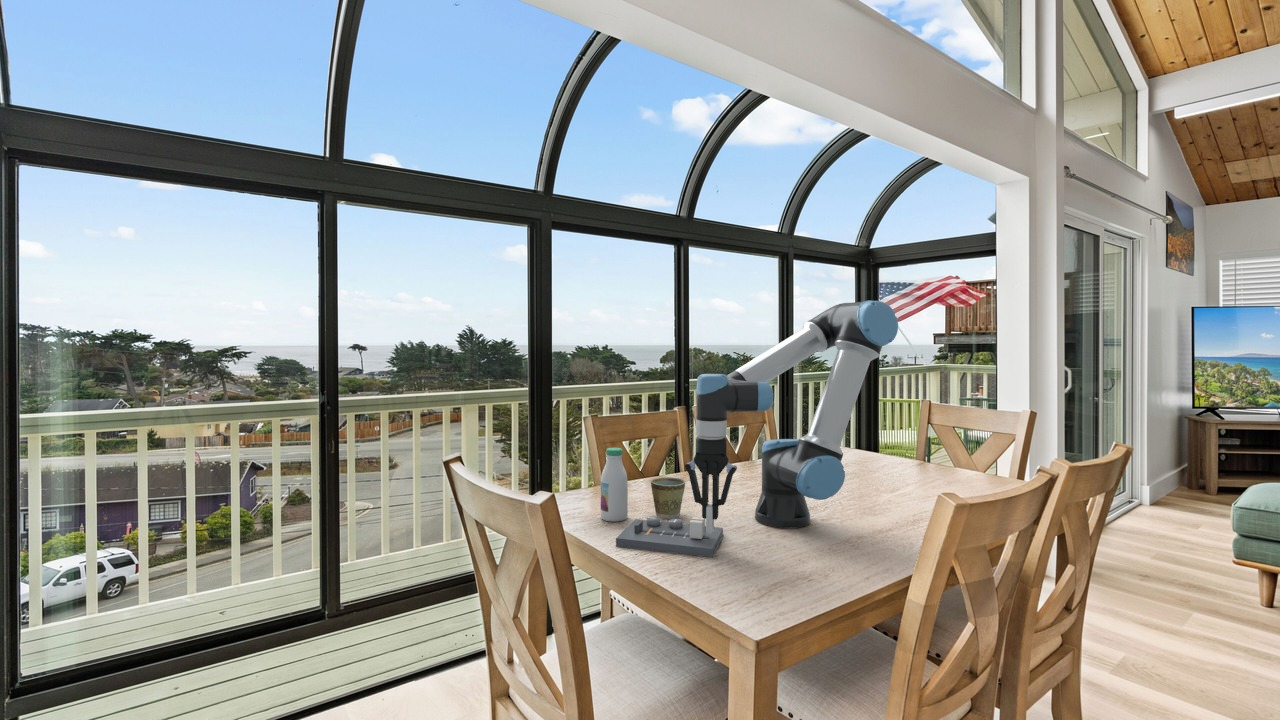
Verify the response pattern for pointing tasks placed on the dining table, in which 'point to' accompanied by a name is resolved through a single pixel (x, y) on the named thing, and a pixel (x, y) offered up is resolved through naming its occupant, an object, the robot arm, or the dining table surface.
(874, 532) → the dining table surface
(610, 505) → the milk bottle
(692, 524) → the fader cap
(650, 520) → the console
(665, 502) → the ceramic cup
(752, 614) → the dining table surface
